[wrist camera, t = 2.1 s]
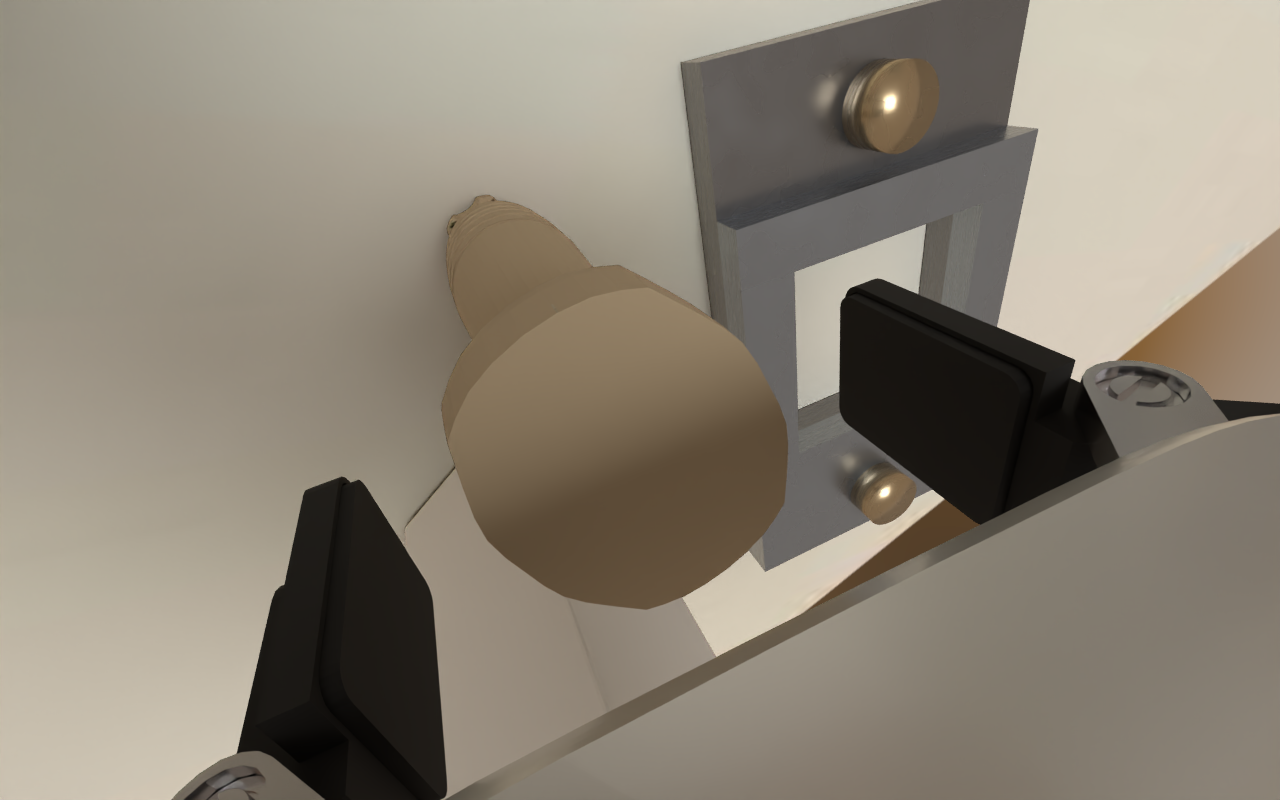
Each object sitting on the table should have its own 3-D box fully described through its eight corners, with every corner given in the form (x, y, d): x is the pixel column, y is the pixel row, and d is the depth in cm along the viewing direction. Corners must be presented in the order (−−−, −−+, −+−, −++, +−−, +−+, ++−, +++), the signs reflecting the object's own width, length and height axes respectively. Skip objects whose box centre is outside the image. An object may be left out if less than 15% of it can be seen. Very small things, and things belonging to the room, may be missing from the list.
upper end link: (699, 213, 23) (759, 241, 20) (978, 122, 27) (1074, 132, 23) (738, 537, 35) (780, 592, 31) (929, 447, 38) (987, 487, 35)
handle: (485, 117, 19) (678, 215, 7) (589, 266, 23) (826, 491, 11) (372, 205, 19) (365, 456, 7) (495, 338, 23) (627, 645, 11)
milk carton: (500, 409, 24) (705, 975, 9) (612, 473, 29) (878, 933, 13) (402, 525, 25) (444, 1208, 10) (524, 570, 29) (681, 1101, 14)
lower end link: (681, 62, 20) (723, 62, 18) (1000, -20, 23) (1074, -30, 21) (730, 473, 32) (760, 507, 29) (939, 381, 35) (981, 405, 33)
